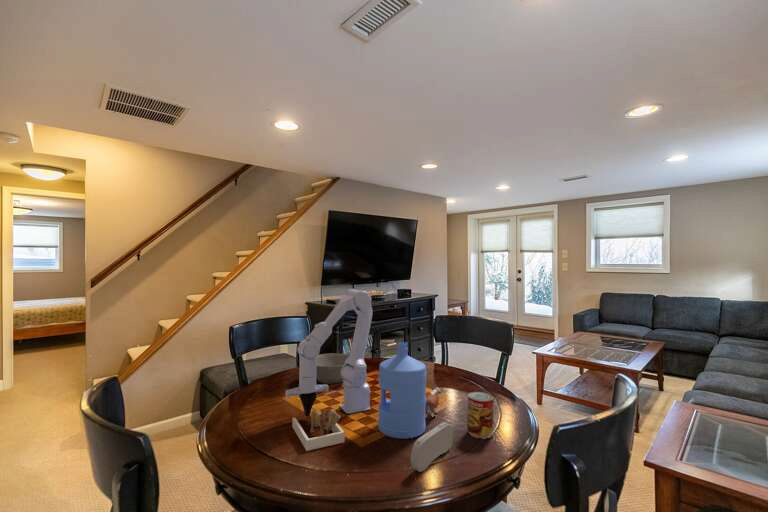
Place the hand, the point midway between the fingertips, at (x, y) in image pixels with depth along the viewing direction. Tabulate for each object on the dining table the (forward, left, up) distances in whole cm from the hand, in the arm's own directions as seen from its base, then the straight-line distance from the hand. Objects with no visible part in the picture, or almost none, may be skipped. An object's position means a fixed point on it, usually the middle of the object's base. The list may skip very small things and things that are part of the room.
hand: (307, 414), depth 124 cm
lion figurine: (-1, +12, -2) cm, 12 cm away
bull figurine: (-42, +15, -2) cm, 45 cm away
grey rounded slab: (-24, +40, -2) cm, 47 cm away
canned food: (-47, +34, -2) cm, 58 cm away
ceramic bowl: (-21, -35, -2) cm, 41 cm away
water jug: (-26, +20, -2) cm, 33 cm away
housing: (0, +12, -2) cm, 12 cm away
